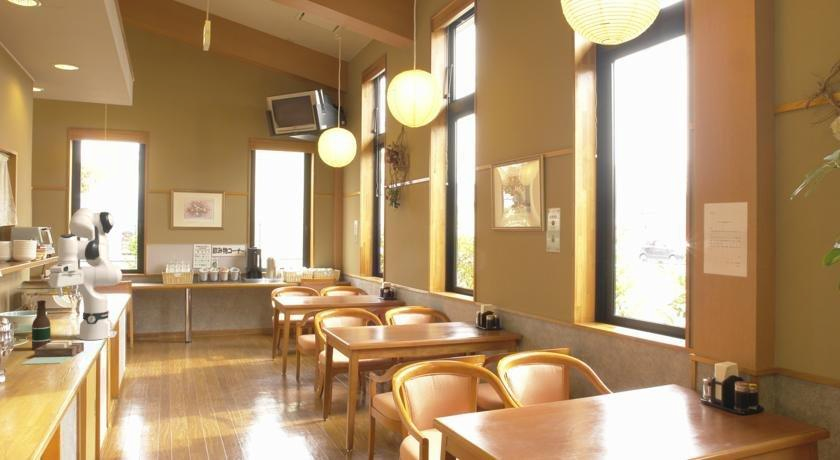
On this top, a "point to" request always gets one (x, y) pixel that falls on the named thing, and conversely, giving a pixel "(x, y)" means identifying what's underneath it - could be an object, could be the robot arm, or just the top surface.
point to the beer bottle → (40, 327)
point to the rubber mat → (46, 360)
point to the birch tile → (59, 344)
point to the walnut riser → (59, 351)
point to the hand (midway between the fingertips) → (67, 295)
